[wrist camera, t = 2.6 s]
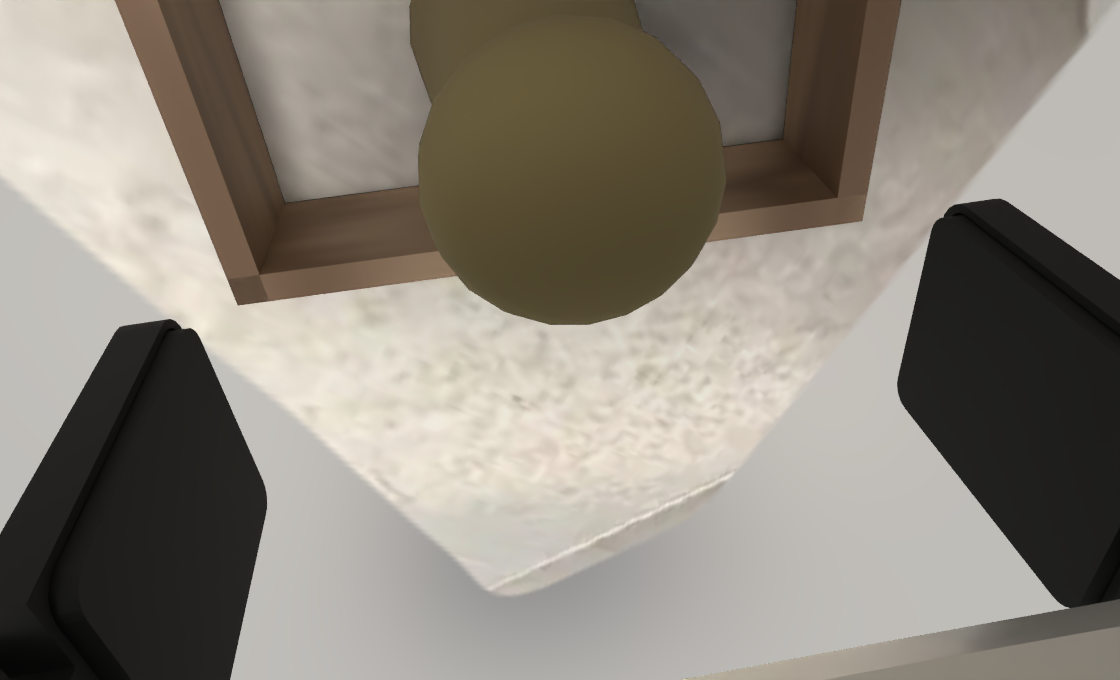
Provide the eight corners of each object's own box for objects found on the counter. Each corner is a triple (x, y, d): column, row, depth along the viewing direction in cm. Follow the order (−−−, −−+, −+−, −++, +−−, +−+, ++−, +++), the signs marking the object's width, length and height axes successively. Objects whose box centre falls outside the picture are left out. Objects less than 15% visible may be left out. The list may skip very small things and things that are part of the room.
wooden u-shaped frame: (852, -232, 18) (942, -232, 15) (805, 160, 24) (862, 220, 21) (129, -158, 17) (57, -141, 14) (265, 231, 23) (237, 305, 20)
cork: (477, -153, 18) (514, -79, 9) (679, -12, 20) (860, 153, 12) (370, 74, 21) (320, 298, 12) (559, 174, 23) (633, 421, 14)
